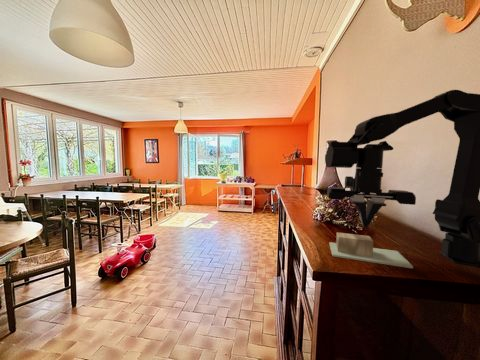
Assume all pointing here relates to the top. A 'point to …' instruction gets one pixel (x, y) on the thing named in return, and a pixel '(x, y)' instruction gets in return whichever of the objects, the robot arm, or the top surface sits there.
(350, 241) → the maple block
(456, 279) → the top surface
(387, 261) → the sage mat
